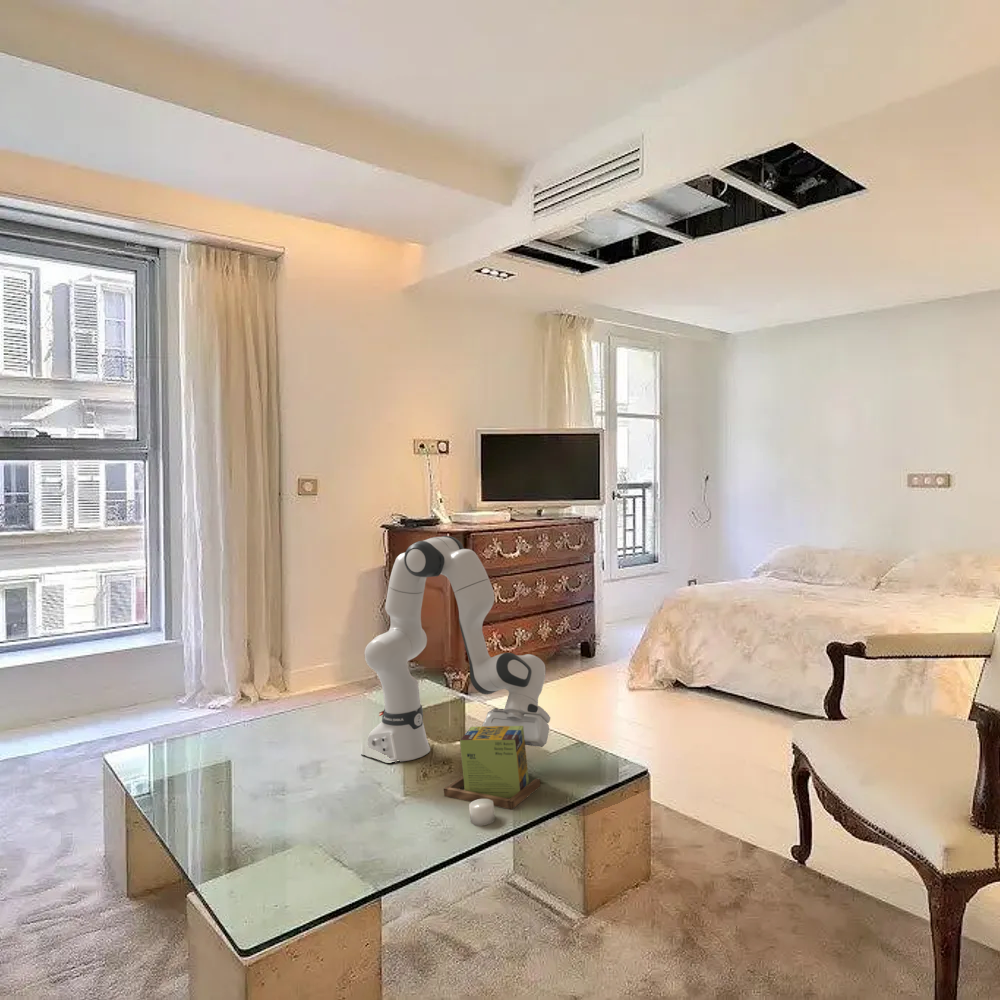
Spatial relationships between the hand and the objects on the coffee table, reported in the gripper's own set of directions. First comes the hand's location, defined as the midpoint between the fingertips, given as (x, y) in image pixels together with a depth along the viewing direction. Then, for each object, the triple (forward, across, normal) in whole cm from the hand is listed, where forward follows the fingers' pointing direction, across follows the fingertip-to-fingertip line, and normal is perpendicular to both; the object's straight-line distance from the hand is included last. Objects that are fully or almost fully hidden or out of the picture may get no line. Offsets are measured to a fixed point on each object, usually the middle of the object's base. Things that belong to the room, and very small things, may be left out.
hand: (506, 757), depth 202 cm
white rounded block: (+20, +6, -11) cm, 24 cm away
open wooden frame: (+9, -1, -1) cm, 9 cm away
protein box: (+9, 0, 0) cm, 9 cm away
